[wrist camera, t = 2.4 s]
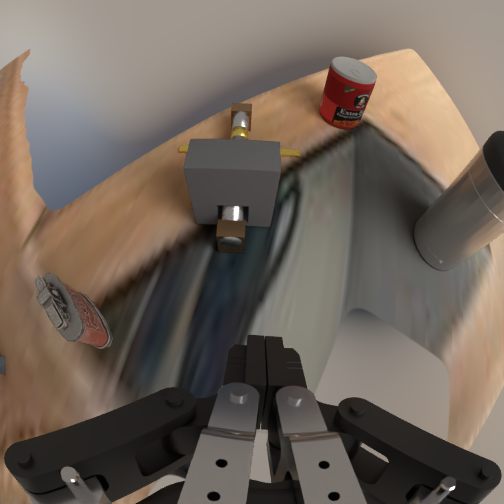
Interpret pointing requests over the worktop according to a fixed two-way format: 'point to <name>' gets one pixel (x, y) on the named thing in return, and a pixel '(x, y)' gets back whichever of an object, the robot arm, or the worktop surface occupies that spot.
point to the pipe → (232, 216)
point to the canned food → (346, 92)
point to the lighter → (72, 312)
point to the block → (233, 178)
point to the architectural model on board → (2, 365)
